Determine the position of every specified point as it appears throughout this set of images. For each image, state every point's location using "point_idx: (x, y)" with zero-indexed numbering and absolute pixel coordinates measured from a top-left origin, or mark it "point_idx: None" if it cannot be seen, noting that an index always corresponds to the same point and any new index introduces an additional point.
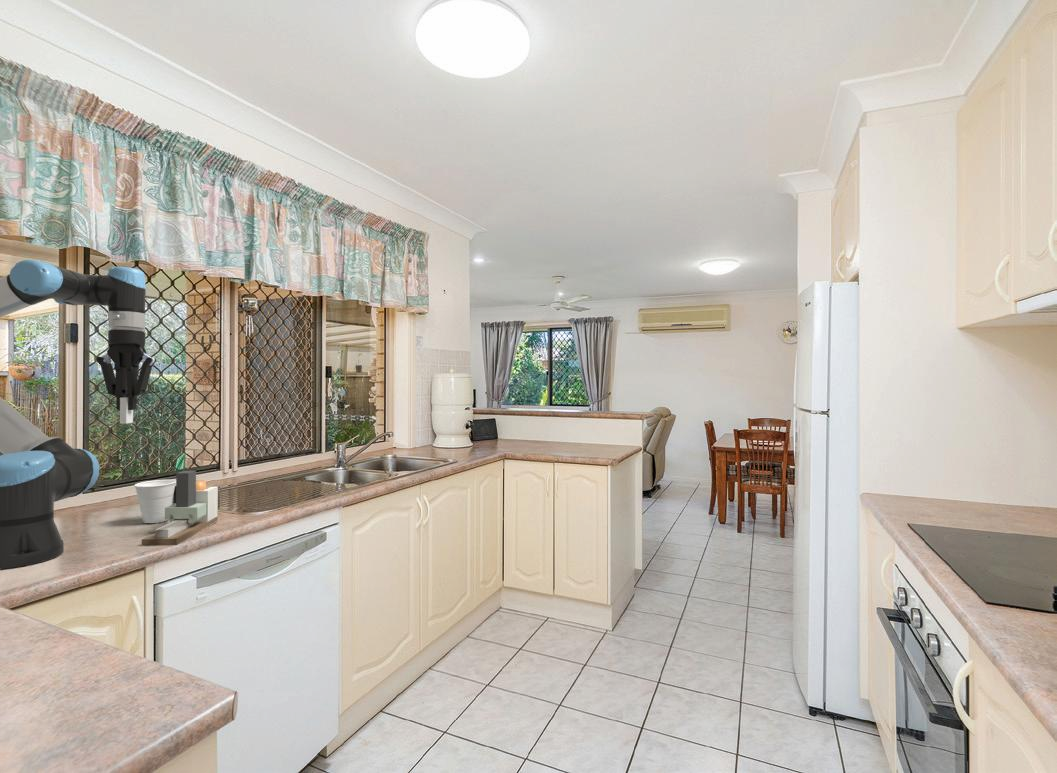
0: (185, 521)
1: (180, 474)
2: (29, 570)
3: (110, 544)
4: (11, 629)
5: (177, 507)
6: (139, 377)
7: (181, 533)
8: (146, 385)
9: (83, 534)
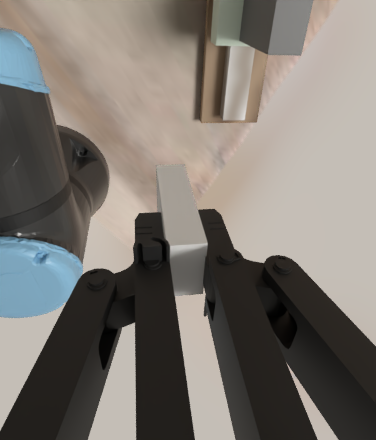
0: (254, 51)
1: (277, 54)
2: (117, 215)
3: (142, 106)
4: None
5: (242, 42)
6: (330, 414)
7: (254, 88)
8: (333, 311)
9: (29, 19)
